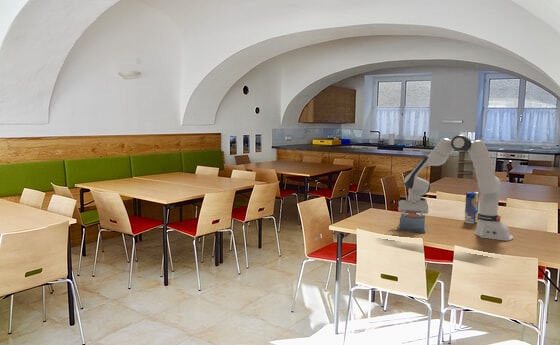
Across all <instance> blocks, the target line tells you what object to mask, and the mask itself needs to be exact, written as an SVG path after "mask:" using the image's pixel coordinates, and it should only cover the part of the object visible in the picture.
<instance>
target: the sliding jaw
mask: <svg viewBox="0 0 560 345" xmlns="http://www.w3.org/2000/svg"><path fill="white" fill-rule="evenodd" d="M405 214H407V217H408V213H407V212H405ZM416 214H417V218H419V215H420V213H416ZM400 217H404V213H403V212H401V215H400ZM425 218H426V214H423V215H422V216H421V218H420V219H424V225H426V224H425V222H426V219H425Z"/></svg>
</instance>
